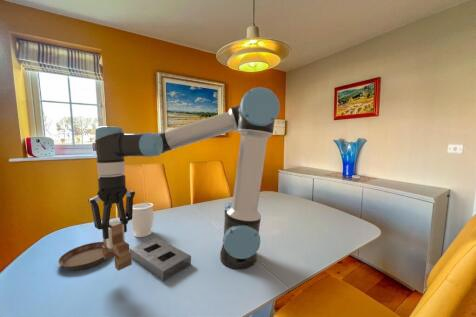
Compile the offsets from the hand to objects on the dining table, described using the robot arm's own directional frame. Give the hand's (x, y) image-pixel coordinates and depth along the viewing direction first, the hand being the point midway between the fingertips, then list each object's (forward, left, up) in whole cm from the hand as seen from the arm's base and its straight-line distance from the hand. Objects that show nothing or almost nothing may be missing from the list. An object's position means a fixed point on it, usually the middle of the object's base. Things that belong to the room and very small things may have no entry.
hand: (115, 244), depth 66 cm
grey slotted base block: (0, -16, -13) cm, 21 cm away
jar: (+28, -24, -14) cm, 39 cm away
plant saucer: (+24, +1, -14) cm, 28 cm away
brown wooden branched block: (0, 0, -6) cm, 6 cm away
